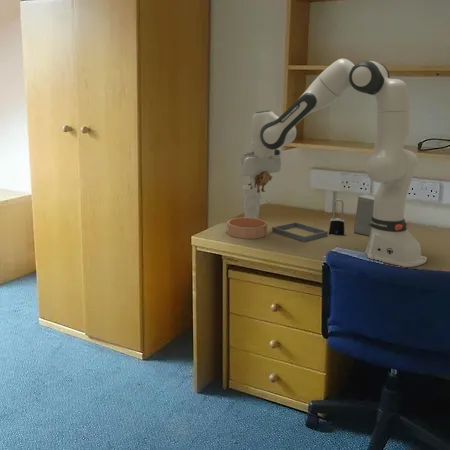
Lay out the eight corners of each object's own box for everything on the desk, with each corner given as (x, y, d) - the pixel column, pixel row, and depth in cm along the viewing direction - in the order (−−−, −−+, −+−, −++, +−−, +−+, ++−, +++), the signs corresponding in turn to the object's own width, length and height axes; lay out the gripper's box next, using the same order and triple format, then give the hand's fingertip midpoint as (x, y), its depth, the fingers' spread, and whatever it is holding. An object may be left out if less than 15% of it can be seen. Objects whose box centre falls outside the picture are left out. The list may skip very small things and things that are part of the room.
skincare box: (353, 232, 246) (356, 196, 242) (361, 229, 251) (364, 193, 247) (371, 236, 241) (375, 199, 236) (379, 233, 246) (382, 196, 242)
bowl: (274, 234, 242) (274, 223, 241) (245, 240, 232) (245, 230, 231) (248, 225, 254) (248, 215, 253) (219, 231, 244) (219, 221, 243)
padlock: (328, 234, 243) (330, 199, 239) (328, 231, 247) (331, 197, 243) (344, 235, 242) (347, 200, 238) (344, 233, 246) (347, 198, 242)
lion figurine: (273, 193, 236) (274, 171, 233) (262, 194, 233) (263, 172, 230) (252, 186, 248) (254, 165, 245) (242, 187, 245) (243, 165, 242)
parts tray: (327, 236, 241) (327, 231, 240) (303, 242, 232) (304, 237, 231) (295, 226, 254) (295, 222, 254) (272, 231, 245) (272, 227, 245)
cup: (245, 217, 268) (245, 184, 264) (262, 219, 265) (264, 185, 261) (239, 221, 260) (240, 187, 256) (257, 223, 257) (258, 189, 253)
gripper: (246, 154, 225) (244, 189, 229) (284, 150, 238) (282, 183, 242) (236, 151, 230) (234, 186, 234) (273, 148, 243) (271, 180, 246)
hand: (259, 184), depth 238 cm, fingers closed on lion figurine, 4 cm apart
